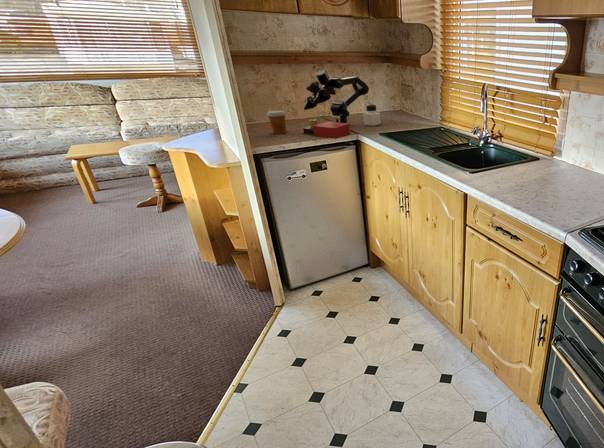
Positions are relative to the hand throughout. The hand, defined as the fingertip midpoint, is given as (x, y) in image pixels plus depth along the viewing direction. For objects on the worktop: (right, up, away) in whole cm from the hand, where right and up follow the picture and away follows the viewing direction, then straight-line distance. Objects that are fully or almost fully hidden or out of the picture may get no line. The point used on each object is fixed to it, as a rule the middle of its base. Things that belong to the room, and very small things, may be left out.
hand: (308, 106), depth 223 cm
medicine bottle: (+27, -2, +33) cm, 43 cm away
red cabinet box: (+11, -14, +5) cm, 19 cm away
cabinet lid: (+11, -10, +4) cm, 15 cm away
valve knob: (-1, -9, +9) cm, 13 cm away
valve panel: (-1, -12, +10) cm, 16 cm away
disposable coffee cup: (-20, -13, +8) cm, 25 cm away
